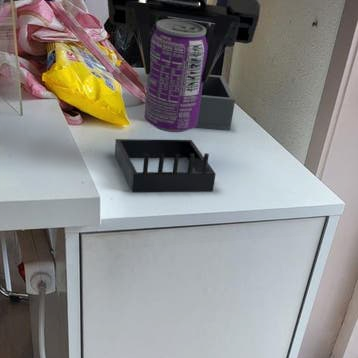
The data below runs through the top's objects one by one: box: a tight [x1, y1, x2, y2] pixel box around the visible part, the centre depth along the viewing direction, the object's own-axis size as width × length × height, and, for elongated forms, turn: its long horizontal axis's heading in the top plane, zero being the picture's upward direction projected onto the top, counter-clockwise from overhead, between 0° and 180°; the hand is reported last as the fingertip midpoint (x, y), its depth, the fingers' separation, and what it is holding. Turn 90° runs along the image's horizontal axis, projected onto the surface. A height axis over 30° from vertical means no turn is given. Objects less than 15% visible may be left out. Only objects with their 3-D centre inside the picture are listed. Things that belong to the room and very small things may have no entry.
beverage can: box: [144, 19, 209, 133], centre depth 83 cm, size 7×7×12 cm
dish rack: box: [114, 138, 217, 193], centre depth 88 cm, size 11×11×5 cm
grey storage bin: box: [194, 74, 236, 131], centre depth 107 cm, size 12×12×5 cm
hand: (175, 76), depth 81 cm, fingers closed on beverage can, 7 cm apart
